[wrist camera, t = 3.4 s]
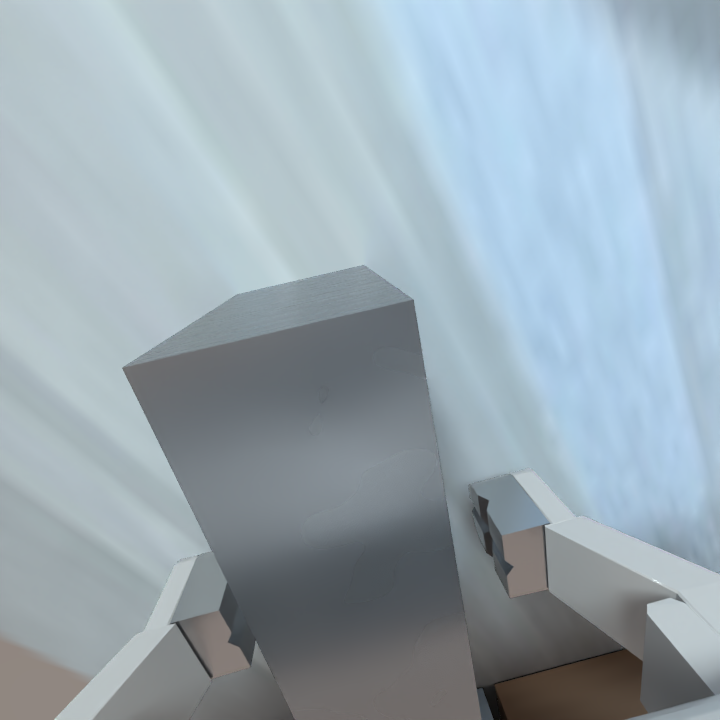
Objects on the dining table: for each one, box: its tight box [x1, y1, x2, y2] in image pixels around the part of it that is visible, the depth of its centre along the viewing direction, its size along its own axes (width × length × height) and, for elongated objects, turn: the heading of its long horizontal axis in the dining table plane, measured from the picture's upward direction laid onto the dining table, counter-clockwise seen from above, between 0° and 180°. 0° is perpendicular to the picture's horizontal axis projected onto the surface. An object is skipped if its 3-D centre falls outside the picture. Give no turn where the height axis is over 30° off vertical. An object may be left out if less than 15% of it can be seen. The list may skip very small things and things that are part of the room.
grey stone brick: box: [122, 265, 482, 720], centre depth 8 cm, size 3×12×5 cm, turn 12°
